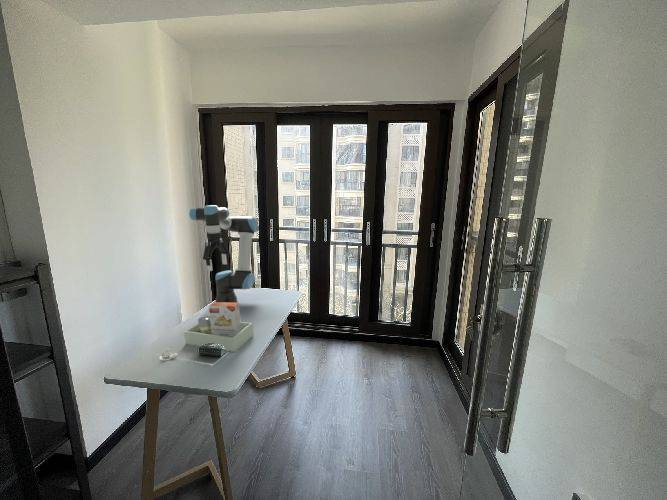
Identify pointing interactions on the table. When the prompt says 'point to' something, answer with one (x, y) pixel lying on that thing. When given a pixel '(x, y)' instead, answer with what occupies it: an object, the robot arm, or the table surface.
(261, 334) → the table surface
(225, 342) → the tote
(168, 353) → the white curved piece
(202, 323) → the can
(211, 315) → the cracker box
